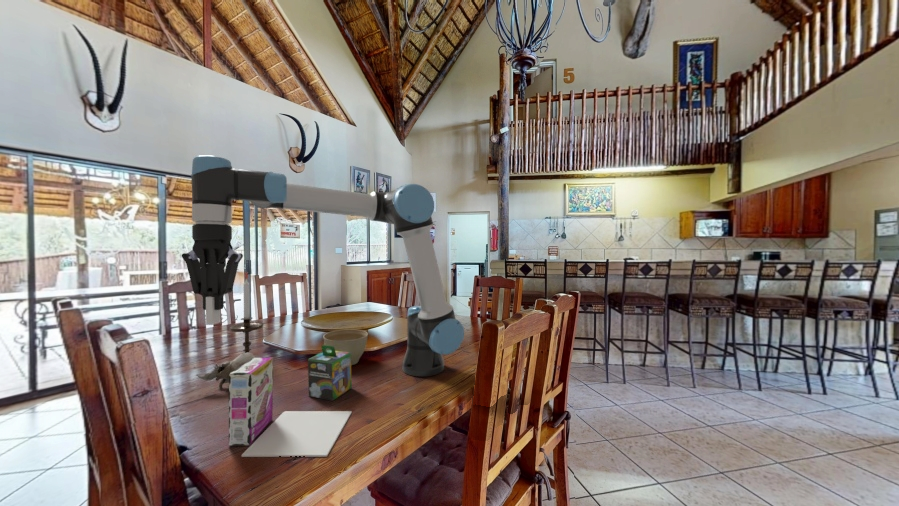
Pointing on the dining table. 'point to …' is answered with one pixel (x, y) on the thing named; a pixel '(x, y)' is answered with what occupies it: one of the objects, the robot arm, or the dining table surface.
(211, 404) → the dining table surface
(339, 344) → the planter bowl
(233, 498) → the dining table surface
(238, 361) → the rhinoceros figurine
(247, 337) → the candlestick
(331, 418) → the mat
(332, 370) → the chalk box
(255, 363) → the candy bar box
